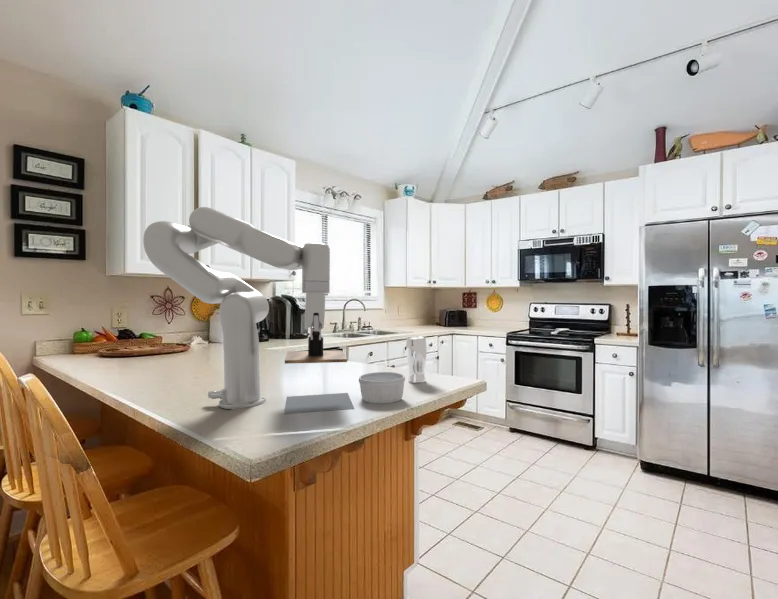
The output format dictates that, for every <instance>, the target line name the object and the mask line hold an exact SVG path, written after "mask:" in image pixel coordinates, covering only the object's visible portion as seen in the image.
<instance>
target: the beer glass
mask: <svg viewBox="0 0 778 599" xmlns="http://www.w3.org/2000/svg"><path fill="white" fill-rule="evenodd" d="M405 344H406V347H405V351H406V361H407V364H408V365H407V366H408V378H407V382H408V383H410V384H423V383H426V376H425V367H426V360H427V353H428V352H427V338H426V337H423V336H410V337H406V343H405Z"/></svg>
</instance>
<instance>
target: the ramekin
mask: <svg viewBox="0 0 778 599" xmlns="http://www.w3.org/2000/svg"><path fill="white" fill-rule="evenodd" d="M405 381H406V376H405V374H403V373H399V372H394V371H393V372H392V371H377V372H368V373H364V374H361V375H359V377H358V383H359V387H360V388H359V389H360V393H361V399H362V400H363V401H364V402H366V403H370V404H392V403H396V402H399V401H401V400H402V399H403V396H404V387H405Z"/></svg>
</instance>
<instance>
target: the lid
mask: <svg viewBox="0 0 778 599" xmlns="http://www.w3.org/2000/svg"><path fill="white" fill-rule="evenodd" d="M307 340H308V342H307V343H308V346H307V347H308V348H307V349H308V350H298V351H297V350H294V351H293V350H291V351H290V350H287V351H286V355H285V359H284V364H320V363H321V364H323V363H326V364H327V363H348V358H347V356H346V354H345V353H344V351H343V350H338V349H337V350H336V349H335V350H324V336H322V335H321V340H322V354H321V355H310V340H311V336H310V335H309V336H308V338H307Z"/></svg>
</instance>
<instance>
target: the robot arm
mask: <svg viewBox="0 0 778 599" xmlns="http://www.w3.org/2000/svg"><path fill="white" fill-rule="evenodd" d="M217 244H220V245H222V246H224V247H226V248H228V249H231V250H233V251H236V252H238V253H240V254H244V255H245V256H248V257H251V258H252V259H255V260H257V261H260V262H262V263H264V264H267V265H270V266H272V267H275V268H278V269H284V270H289V271H297V270H302V272H301V278H302V279H301V280H302V281H301V293H302V294H305V305H304V309H305V310H304V313H305V314H304V315H305V317H304V318H305V321H304V323H305V324H304V326H305V330H310V335H309V336H311V340H310V355H321V354H322V340H321V336H322V330H323V329H324V325H325V317H326V294H330V292H331V290H330V289H331V287H330V283H331V282H330V278H331V276H330V272H331V269H330V268H331V259H330V258H331V255H330V254H331V250H330V246H329V245H328V244H326V243H323V242H308V243H304V244H297V243H294V242H291V241H289V240H286V239H284V238H283V239H282V238H281V237H278V236H275V235H272V234H270V233H268V232H265V231H262V230H261V229H258V228H256V227H254V226H253V224H251V223H249V222H247V221H244V220H242V219H239V218H236V217H234V216H232V215H230V214H226V213H224V212H222V211H220V210H217V209H214V208H212V207H207V206H200V207H198V208H195V209H194V210H193V211H192V212H191V213H190V215H189V219H188V225H184V224H180V223H176V222H172V221H166V220H159V221H154V222H152V223H151V224H149V225H148V226H147V227H146V229H145V230H144V233H143V247H144V252H145V254H146V257H147V258H148V260H149V261H150V262H151V263H152V265H154V267H155V268H157V270H159V271H160V272H161V273H163V274H164V275H165V276H167V277H168V278H169V279H171V280H172V281H174V282H176V283H177V284H178V285H179V286H180V287H181V288H183V289H185V290H186V291H187V292H189V293H190V294H191V295H193V296H194V297H196V298H197V299H199V300H200V301H201V302H203V303H205V304H208V305H209V304H211V305H213V304H215V305H216V304H220V306H219V308H218V309H219V320H220V325H221V331H222V332H221V333H222V344H223V346H222V347H223V348H222V351H223V380H224V382H223V383H224V384H223V385H224V387H223V389H220V390H209V391H207V392H208V393H207V396H208V398H209V399H211V400H215V399H220V400H219V401H218V407H220V408H221V409H225V410H233V409H243V408H244V409H245V408H252V407H257V406H259V405H262V404H265V403H266V401H267V398H266V396H265V395H263V394H261V380H260V379H261V376H260V372H261V371H260V339H259V332H258V328H257V323H259V322H262V321H263V320H265V319H266V317H267V316H268V314H269V311H270V305H269V302H268V300H267V297H265V295H264V294H262V293H261V292H259V291H258V290H257V289H255V288H254V287H253V286H251V285H250V284H248V283H247V282H245V281H244V280H242V279H241V278H240V277H238V276H236V275H235V274H233V273H231V272H227V271H219V270H214V269H213V268H210V267H208V266H207V265H205V264H204V263H202V262H201V261H199V260H198V259H197V258H195V257H194V256H192V255H191V254H195V253H197V252H200V251H202V250H205V249H208V248H210V247H212V246H216V245H217Z"/></svg>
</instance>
